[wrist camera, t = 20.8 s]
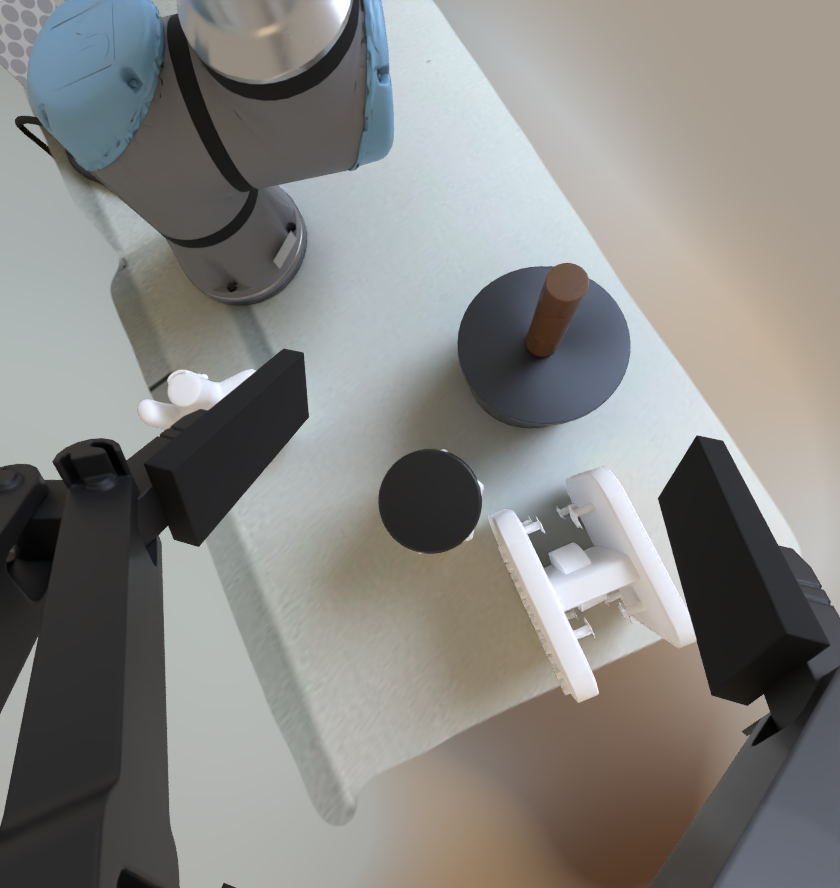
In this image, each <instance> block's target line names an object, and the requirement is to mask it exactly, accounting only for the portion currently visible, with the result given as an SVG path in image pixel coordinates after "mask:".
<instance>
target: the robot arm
mask: <svg viewBox="0 0 840 888" xmlns="http://www.w3.org/2000/svg"><path fill="white" fill-rule="evenodd" d="M177 10H178V14H174V15H170V16H166V17H160V15H159V11H158V9H157V8H156V6H155V5H154V3H153V2H152V1H150V0H65V1H64V2H62V3H61V4H60V5H59V6H58V7H57V8H56V9H55V10H54V12H53V13H52V14H51V15H50V16H49V18H48V19H47V21H46V22H45V24H44V26H43V28H42V29H41V30H40V32H39V34H38V36H37V38H36V40H35V42H34V45H33V47H32V50H31V54H30V57H29V62H28V69H27V88H28V94H29V99H30V102H31V105H32V107H33V110H34V112H35V114H36V116H37V117H38V118H36V117H31V116H19V117H17V118H16V119H15V123H16V125H17V127H18V128H19V129H20V130H21V131H22V132H23V133H24V134H25V135H26V136H27V137H28V138H30V139H31V140H32V141H34V142H35V143H36V144H37V145H38V146H40V147H41V148H42V149H43V150H44V151H46V152H47V153H48V154H49V155H50V156H51V157H52V158H53V156H52V154H51V152H50V149H49V147H48V146H47V145H46V144H45V143H44V142H42V141H41V140H40V139H39V138H37V137H36V136H35V135H34V134H33V133H31V132H30V131H29V130H28V129H27V128H26V127H25V126H24V125H23V124H26V123H29V124H36V125H40V126H43V127H45V128H46V129H47V131H48V132H49V133H50V134H51V135H52V136H53V137H55V138H56V139H57V140H58V141H59V142H60V143H61V144H62V145H63V146H64V147H65V150H66V154H67V156H68V159H69V161H70V163H71V165H72V166H73V167H74V168H75V170H77V171H78V172H79V173H80V174H82V175H83V176H84V177H86V178H88V179H90V180H92V181H94V182H97V183H100V184H103V185H105V186H106V187H107V188H109V189H110V190H111V191H112V192H113V193H114V194H115V195H117V196H118V197H119V198H120V199H121V200H122V201H124V202H125V203H126V204H127V205H128V206H129V207H130V208H132V209H133V210H134V211H135V212H136V213H137V214H139V215H140V216H141V217H142V218H143V219H144V220H145V221H147V222H148V223H149V224H150V225H151V226H152V227H154V228H155V229H156V230H157V231H158V232H159V233H161V234H162V235H163V236H164V237H165V238H166V240H167V242H168V243H169V245H170V247H171V249H172V251H173V253H174V254H175V256H176V258H177V260H178V262H179V264H180V265H181V267H182V269H183V271H184V272H185V274H186V276H187V277H188V278H189V280H190V281H191V282H192V283H193V284H194V285H195V286H196V287H198V288H199V289H200V290H201V291H202V292H204V293H205V294H206V295H208V296H209V297H211V298H213V299H214V300H217V301H219V302H222V303H226V304H231V305H247V304H252V303H257V302H260V301H263V300H265V299H267V298H269V297H271V296H273V295H274V294H276V293H278V292H279V291H280V290H281V289H283V288H284V287H285V286H286V285H287V284H288V283H289V282H290V281H291V280H292V279H293V277H294V276H295V275H296V273H297V271H298V270H299V268H300V266H301V264H302V261H303V259H304V256H305V252H306V247H307V231H306V226H305V223H304V220H303V217H302V215H301V213H300V212H299V210H298V208H297V206H296V205H295V203H294V201H293V200H292V199H291V197H290V196H289V195H288V194H287V193H286V192H285V191H284V190H283V189H282V188H280V187H279V186H278V185H280V184H285V183H289V182H294V181H299V180H304V179H309V178H313V177H318V176H323V175H328V174H333V173H337V172H342V171H347V170H349V171H353V170H355V169H357V168H358V167H359V166H361V165H364V164H368V163H371V162H374V161H378V160H381V159H382V158H384V157H385V156H386V155H387V154H388V152H389V151H390V149H391V147H392V144H393V138H394V112H393V96H392V85H391V78H390V74H389V69H390V68H389V56H388V44H387V36H386V28H385V20H384V14H383V7H382V1H381V0H177ZM53 159H54V158H53ZM81 166H82V167H81ZM83 167H84V168H83ZM85 169H87V170H88V171H89V172H88V171H87V170H85ZM308 418H309V413H308V401H307V388H306V376H305V364H304V353H302V352H298V351H293V350H288V349H283V350H281V351H280V352H279V353H278V354H276V355H275V356H274V357H273V358H272V359H270V360H269V361H268V362H267V363H265V364H264V365H263V366H262V367H261V368H259V369H258V370H257V371H256V372H254V373H253V374H252V375H251V376H250V377H248V378H247V379H246V380H245V381H243V382H242V383H241V384H240V385H239V386H237V387H236V388H235V389H234V390H232V391H231V392H230V393H229V394H228V395H226V396H225V397H224V398H223V399H221V400H220V401H219V402H218V403H217V404H215V405H214V406H213V407H212V408H210V409H209V410H203V409H199V410H197V411H194V412H192V413H190V414H187V415H185V416H183V417H182V418H180V419H179V420H178V421H177V422H175V423H174V424H173V425H171V427H170V429H169V428H168V429H166V430H165V431H164V432H162V433H161V434H160V437H156V438H155V439H154V440H152V441H151V442H150V443H148V444H147V445H146V446H144V447H143V448H142V449H141V450H139V451H138V452H137V453H136V454H134V455H133V456H132V457H131V458H129V459H128V460H127V461H126V459H125V457H124V454H123V452H122V450H121V447H120V445H119V444H118V443H116V442H115V441H113V440H109V439H102V438H100V439H89V440H85V441H81V442H77V443H75V444H73V445H71V446H69V447H66V448H65V449H64V450H63V451H61V452H60V453H58V454H57V455H56V457H55V459H54V460H53V464H54V466H55V467H56V469H57V471H58V473H59V474H60V476H61V478H62V479H63V480H44V479H43V477H42V476H41V474H40V472H39V471H38V469H37V468H36V467H34V466H32V465H28V464H15V465H8V466H4V467H0V713H1V711H2V709H3V707H4V705H5V703H6V701H7V698H8V696H9V694H10V693H11V690H12V688H13V686H14V684H15V682H16V680H17V678H18V676H19V674H20V672H21V670H22V668H23V666H24V664H25V662H26V659H27V658H28V656H29V654H30V652H31V649H32V647H33V645H34V643H35V641H36V639H37V637H38V642H37V647H36V652H35V657H34V662H33V667H32V672H31V677H30V682H29V687H28V693H27V698H26V703H25V708H24V713H23V718H22V724H21V728H20V733H19V739H18V744H17V749H16V754H15V759H14V764H13V769H12V774H11V779H10V785H9V790H8V795H7V800H6V805H5V810H4V815H3V819H2V822H1V826H0V888H180V886H179V868H178V858H177V851H176V846H175V842H174V838H173V835H172V831H171V826H170V816H169V792H168V791H169V788H168V755H167V723H166V722H167V721H166V719H167V718H166V686H165V684H166V683H165V651H164V650H165V649H164V616H163V579H162V545H161V541H160V538H159V534H160V533H161V532H162V531H163V530H164V529H165V528H166V527H167V526H169V529H170V531H171V534H172V536H173V539H174V540H177V541H180V542H184V543H187V544H191V545H194V546H198V547H199V546H200V545H201V544H202V542H203V541H204V540H205V539H206V538H207V537H208V535H209V534H210V533H211V532H212V531H213V530H214V528H215V527H216V526H217V525H218V524H219V522H220V521H221V520H222V519H223V518H224V517H225V515H226V514H227V513H228V512H229V511H230V509H231V508H232V507H233V506H234V505H235V504H236V502H237V501H238V500H239V499H240V498H241V497H242V495H243V494H244V493H245V492H246V491H247V489H248V488H249V487H250V486H251V485H252V484H253V482H254V481H255V480H256V479H257V478H258V476H259V475H260V474H261V473H262V472H263V471H264V469H265V468H266V467H267V466H268V465H269V464H270V462H271V461H272V460H273V459H274V458H275V456H276V455H277V454H278V453H279V452H280V451H281V449H282V448H283V447H284V446H285V445H286V443H287V442H288V441H289V440H290V439H291V438H292V436H293V435H294V434H295V433H296V432H297V430H298V429H299V428H300V427H301V426H302V425H303V423H304V422H305V421H306V420H307V419H308ZM658 500H659V504H660V508H661V511H662V515H663V519H664V522H665V526H666V530H667V533H668V537H669V541H670V544H671V548H672V552H673V555H674V559H675V563H676V566H677V570H678V574H679V577H680V581H681V585H682V588H683V592H684V596H685V599H686V603H687V607H688V611H689V614H690V618H691V622H692V625H693V629H694V633H695V636H696V640H697V644H698V647H699V651H700V655H701V658H702V662H703V666H704V669H705V673H706V677H707V680H708V684H709V688H710V691H711V695H713V696H716V697H719V698H723V699H727V700H729V701H733V702H736V703H740V704H744V705H747V706H748V705H749V704H751V703H752V702H753V701H755V700H756V699H757V698H759V697H760V696H762V695H763V694H764V695H765V699H766V701H767V704H768V707H769V710H770V713H768V714H767V715H765V716H764V717H762V718H761V719H759V720H758V721H756V722H755V723H753V724H752V725H751V726H749V727H747V728H746V729H745V730H743V731H742V732H743V733H744V734H745V735H746V736H748V735H750V736H749V738H748V739H747V740H746V742H745V743H744V745H743V746H742V748H741V749H740V751H739V752H738V754H737V756H736V757H735V759H734V760H733V761H732V763H731V765H730V766H729V768H728V769H727V771H726V772H725V774H724V775H723V776H722V778H721V780H720V781H719V783H718V784H717V786H716V787H715V789H714V790H713V792H712V793H711V795H710V796H709V798H708V799H707V801H706V802H705V804H704V805H703V807H702V808H701V810H700V811H699V813H698V814H697V816H696V817H695V819H694V820H693V822H692V823H691V825H690V826H689V828H688V829H687V831H686V832H685V834H684V835H683V837H682V838H681V840H680V841H679V843H678V844H677V846H676V847H675V849H674V850H673V852H672V853H671V855H670V856H669V858H668V859H667V861H666V862H665V864H664V865H663V867H662V868H661V870H660V871H659V873H658V874H657V876H656V877H655V879H654V880H653V882H652V883H651V885H650V886H649V888H840V617H839V615H838V613H837V612H836V610H835V608H834V606H831V605H830V602H831V601H830V600H829V598H828V596H827V594H826V593H825V591H824V590H822V589H821V587H822V586H821V584H820V582H819V580H818V579H817V577H816V575H815V574H814V572H813V570H812V568H811V567H810V566H809V565H808V564H807V563H806V562H805V561H804V560H803V559H802V558H801V557H800V556H799V555H798V554H797V553H796V552H795V551H794V550H793V549H791V548H787V547H783V546H778V544H777V542H776V540H775V538H774V537H773V535H772V533H771V531H770V529H769V527H768V525H767V523H766V521H765V519H764V518H763V516H762V514H761V512H760V510H759V508H758V506H757V504H756V502H755V500H754V499H753V497H752V495H751V493H750V491H749V489H748V487H747V485H746V483H745V482H744V480H743V478H742V476H741V474H740V472H739V470H738V468H737V466H736V464H735V463H734V461H733V459H732V457H731V455H730V453H729V451H728V449H727V447H726V446H725V444H724V442H723V441H721V440H716V439H711V438H707V437H702V436H696V437H695V439H694V441H693V442H692V444H691V446H690V447H689V449H688V450H687V452H686V454H685V455H684V457H683V459H682V460H681V462H680V463H679V465H678V467H677V468H676V470H675V472H674V473H673V475H672V476H671V478H670V480H669V481H668V483H667V485H666V486H665V488H664V489H663V491H662V493H661V494H660V496H659V498H658ZM10 550H11V551H10ZM9 552H10V553H9ZM38 635H39V636H38ZM222 888H235V887H233V886H230V885H228V884H225V883H224V884H223V886H222Z"/></svg>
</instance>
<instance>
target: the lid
mask: <svg viewBox="0 0 840 888" xmlns="http://www.w3.org/2000/svg"><path fill="white" fill-rule="evenodd" d="M629 356H630V336H629V330H628V326H627V323H626V320H625V318H624V315H623V313H622V311H621V310H620V308H619V306H618V305H617V303H616V302H615V301H614V299H613V298H612V297H611V296H610V294H609V293H607V292H606V291H605V290H604V289H603V288H602V287H601V286H600V285H598V284H597V283H595V282H594V281H593V280H591V279H589V278H588V275H587V273H586V272H585V271H584V270H583V269H582V268H581V267H580V266H578V265H575V264H571V263H563V264H559V265H557V266H555V267H543V266H541V267H529V268H524V269H519V270H516V271H513V272H510V273H508V274H506V275H503V276H501V277H499V278H498V279H496V280H494V281H493V282H491V283H490V284H489V285H487V286H486V287H485V288H483V289H482V290H481V291H480V292H479V293H478V295H477V296H476V297H475V298H474V299H473V301H472V302H471V303H470V305H469V306H468V308H467V310H466V312H465V314H464V316H463V319H462V321H461V325H460V329H459V333H458V357H459V362H460V366H461V369H462V372H463V375H464V377H465V379H466V381H467V383H468V385H469V386H470V388H471V389H472V391H473V392H474V393H475V394H476V395H477V397H478V398H479V399H480V400H481V401H482V402H483V403H485V404H486V405H487V406H488V407H489V408H491V409H492V410H494V411H495V412H497V413H498V414H500V415H503V416H505V417H507V418H509V419H512V420H515V421H518V422H521V423H526V424H531V425H556V424H562V423H567V422H570V421H573V420H576V419H579V418H581V417H583V416H585V415H587V414H589V413H590V412H592V411H594V410H595V409H597V408H598V407H599V406H600V405H602V404H603V403H604V402H605V401H606V400H607V399H608V398H609V397H610V396H611V395H612V394H613V393H614V391H615V390H616V389H617V387H618V386H619V384H620V383H621V381H622V379H623V377H624V375H625V372H626V369H627V366H628V362H629Z"/></svg>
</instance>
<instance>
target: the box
mask: <svg viewBox="0 0 840 888" xmlns="http://www.w3.org/2000/svg"><path fill="white" fill-rule="evenodd" d="M56 8H57V6H56V4H55V3H54V2H53V1H52V0H0V64H1V65H2V66H3V67H4V68H5V69H6V70H7V71H8V72H9V73H10V74H11V75H12V76H13V77H14V78H16V79H17V80H18V81H19V82H20V83H21V84H22V85H23V86H24V87H25V88H26V89H27V90H28V88H27V69H28V62H29V57H30V54H31V50H32V47H33V45H34V42H35V40H36V38H37V36H38V34H39V32H40V30H41V29H42V28H43V26H44V24H45V22H46V21H47V19H48V18H49V16H50V15H51V14H52V13H53V12H54V10H55V9H56Z"/></svg>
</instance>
